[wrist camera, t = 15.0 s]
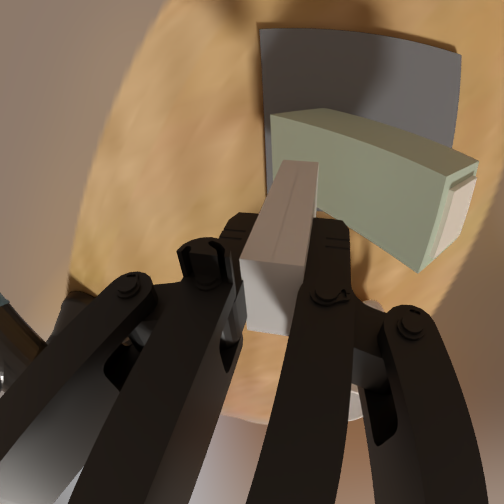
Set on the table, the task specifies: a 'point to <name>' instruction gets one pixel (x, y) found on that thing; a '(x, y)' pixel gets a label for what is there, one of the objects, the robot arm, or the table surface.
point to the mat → (360, 80)
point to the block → (381, 180)
